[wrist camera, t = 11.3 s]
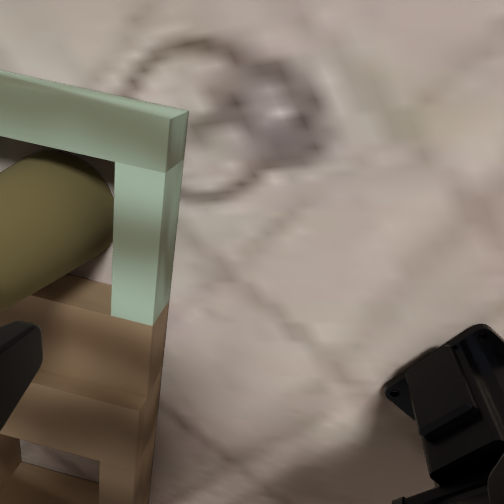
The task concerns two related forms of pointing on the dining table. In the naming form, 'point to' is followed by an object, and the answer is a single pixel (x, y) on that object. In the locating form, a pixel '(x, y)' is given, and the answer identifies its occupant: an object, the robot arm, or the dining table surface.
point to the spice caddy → (98, 300)
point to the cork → (49, 221)
